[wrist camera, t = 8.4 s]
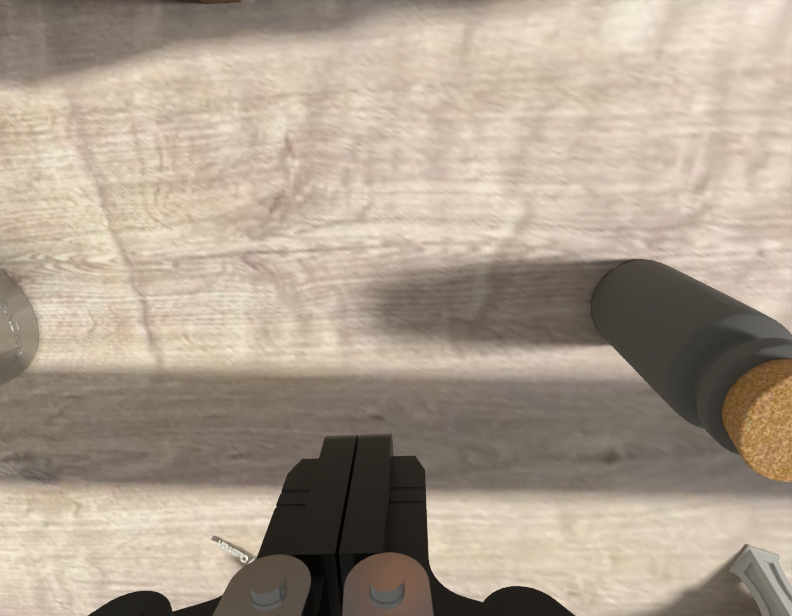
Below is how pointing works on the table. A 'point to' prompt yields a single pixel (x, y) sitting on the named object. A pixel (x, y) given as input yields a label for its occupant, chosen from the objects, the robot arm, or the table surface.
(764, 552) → the eiffel tower
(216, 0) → the bridge
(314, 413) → the table surface
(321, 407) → the table surface
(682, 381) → the bottle
